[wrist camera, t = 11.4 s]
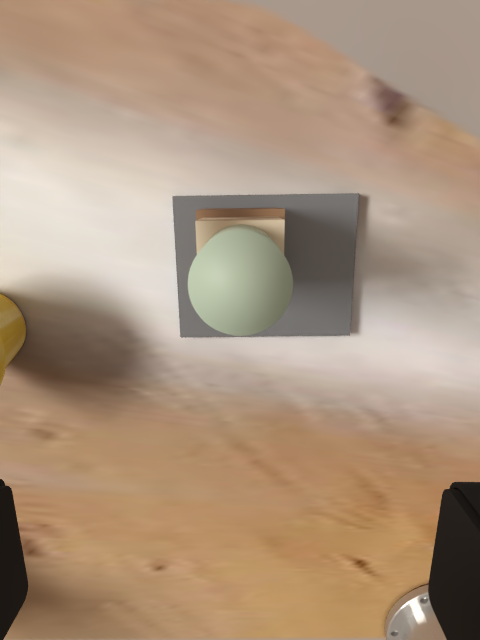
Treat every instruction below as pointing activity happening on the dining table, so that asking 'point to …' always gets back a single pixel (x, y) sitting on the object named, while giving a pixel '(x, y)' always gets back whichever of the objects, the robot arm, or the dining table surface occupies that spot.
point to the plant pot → (10, 332)
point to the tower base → (241, 213)
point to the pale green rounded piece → (240, 281)
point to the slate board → (301, 253)
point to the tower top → (215, 224)
